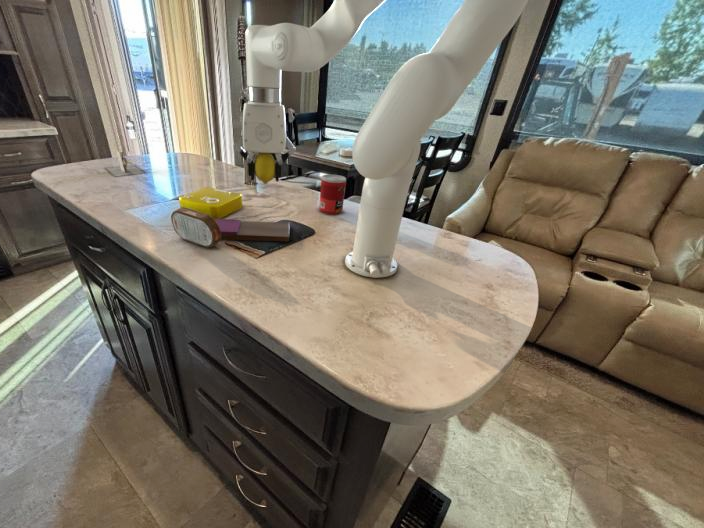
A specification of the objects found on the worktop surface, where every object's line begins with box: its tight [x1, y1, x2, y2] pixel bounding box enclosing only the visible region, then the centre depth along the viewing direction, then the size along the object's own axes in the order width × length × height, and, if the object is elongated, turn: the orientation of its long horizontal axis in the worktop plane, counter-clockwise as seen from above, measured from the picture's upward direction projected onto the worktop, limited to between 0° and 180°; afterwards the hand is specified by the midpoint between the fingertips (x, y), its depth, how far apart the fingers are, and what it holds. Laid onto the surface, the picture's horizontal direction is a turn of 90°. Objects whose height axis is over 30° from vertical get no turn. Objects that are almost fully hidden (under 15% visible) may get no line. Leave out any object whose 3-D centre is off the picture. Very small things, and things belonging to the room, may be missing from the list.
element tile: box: [178, 186, 243, 220], centre depth 105 cm, size 15×15×5 cm
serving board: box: [215, 220, 290, 243], centre depth 92 cm, size 10×22×2 cm, turn 92°
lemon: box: [254, 152, 277, 185], centre depth 82 cm, size 6×6×8 cm
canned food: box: [318, 173, 347, 216], centre depth 108 cm, size 8×8×11 cm
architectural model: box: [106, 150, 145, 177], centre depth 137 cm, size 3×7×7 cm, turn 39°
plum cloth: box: [216, 218, 242, 234], centre depth 91 cm, size 9×7×1 cm
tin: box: [170, 207, 222, 249], centre depth 83 cm, size 15×3×8 cm, turn 59°
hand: (265, 178), depth 84 cm, fingers closed on lemon, 5 cm apart
